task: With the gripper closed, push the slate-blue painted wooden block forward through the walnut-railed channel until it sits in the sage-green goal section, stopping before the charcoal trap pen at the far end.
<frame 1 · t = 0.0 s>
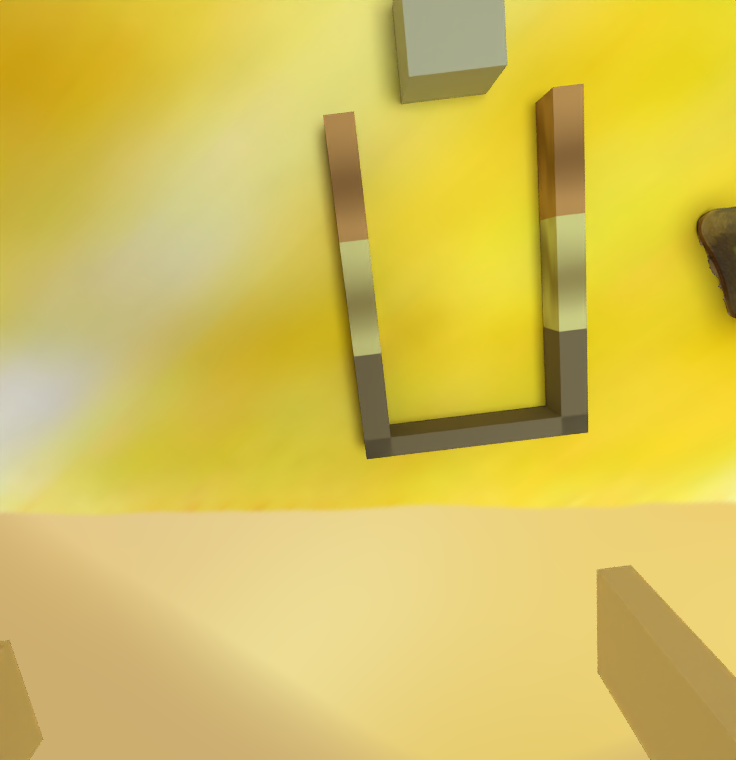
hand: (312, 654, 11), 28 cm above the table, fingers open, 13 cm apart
channel rails: (453, 231, 36), on the table
block: (439, 52, 33), on the table
olive elongated piece: (726, 265, 37), on the table
trap pen: (464, 385, 38), on the table
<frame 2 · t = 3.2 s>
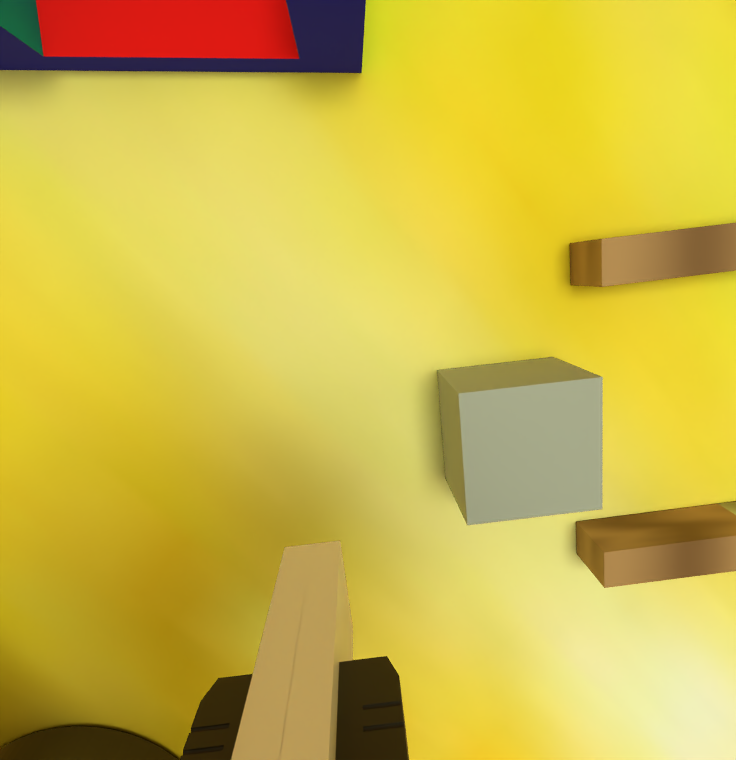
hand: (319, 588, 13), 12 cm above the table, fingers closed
channel rails: (723, 391, 25), on the table
block: (497, 418, 25), on the table
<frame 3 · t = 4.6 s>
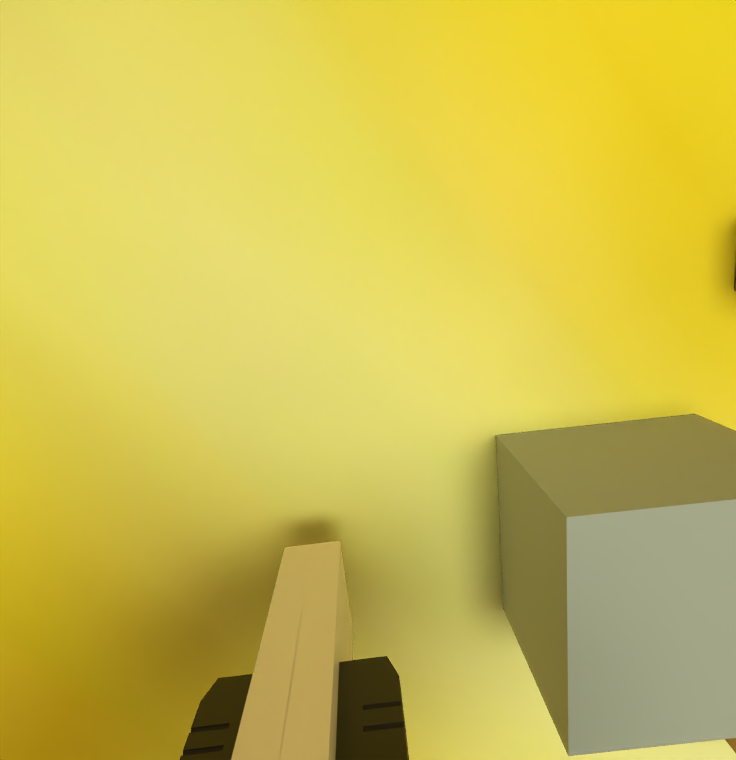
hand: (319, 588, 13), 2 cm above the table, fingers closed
block: (592, 513, 15), on the table
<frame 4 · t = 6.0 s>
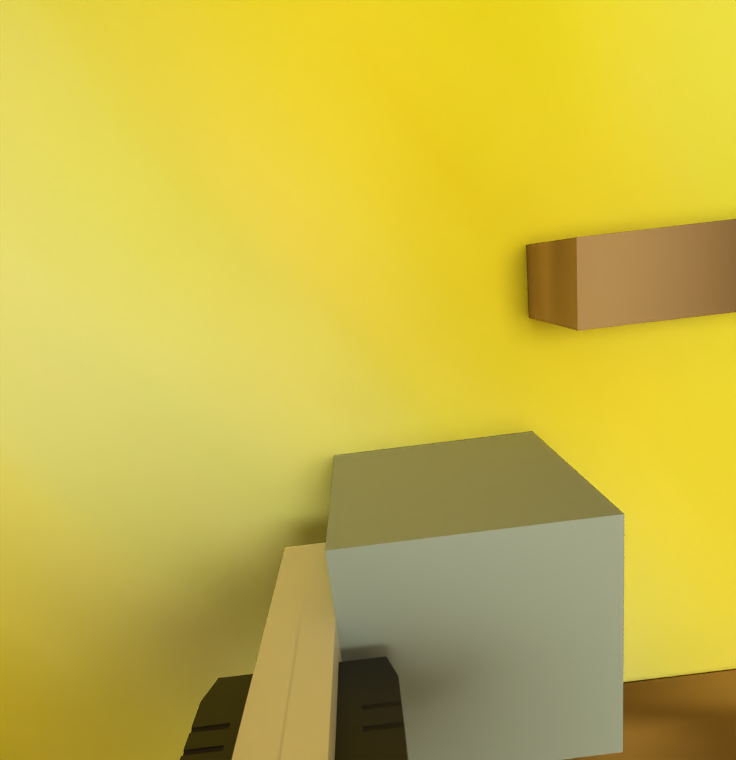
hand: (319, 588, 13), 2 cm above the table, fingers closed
block: (441, 532, 15), on the table, touching gripper
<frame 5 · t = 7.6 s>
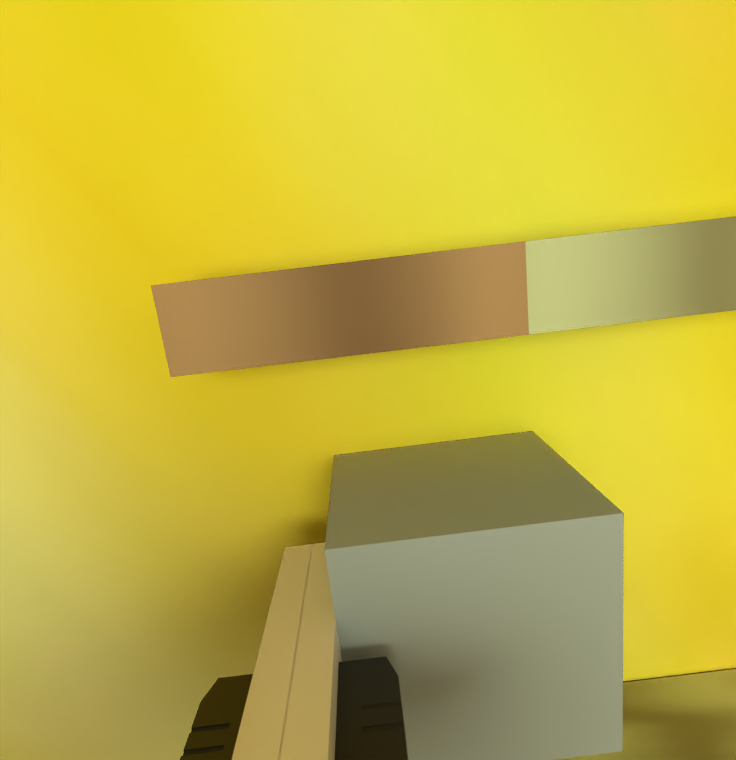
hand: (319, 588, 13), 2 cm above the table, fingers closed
channel rails: (502, 526, 15), on the table
block: (441, 531, 15), on the table, touching gripper
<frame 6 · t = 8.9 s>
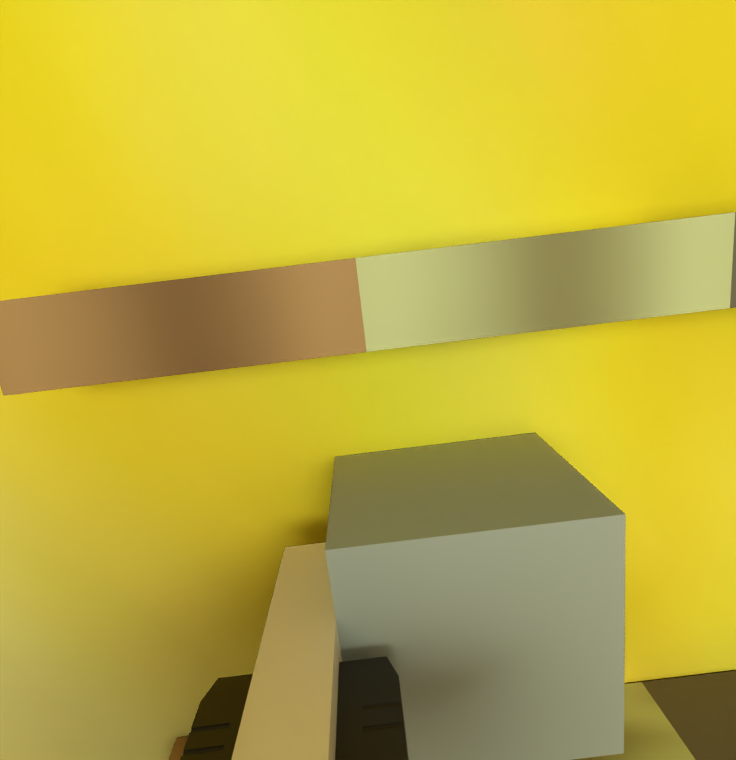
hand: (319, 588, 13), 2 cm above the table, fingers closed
channel rails: (388, 540, 15), on the table
block: (442, 532, 15), on the table, touching gripper
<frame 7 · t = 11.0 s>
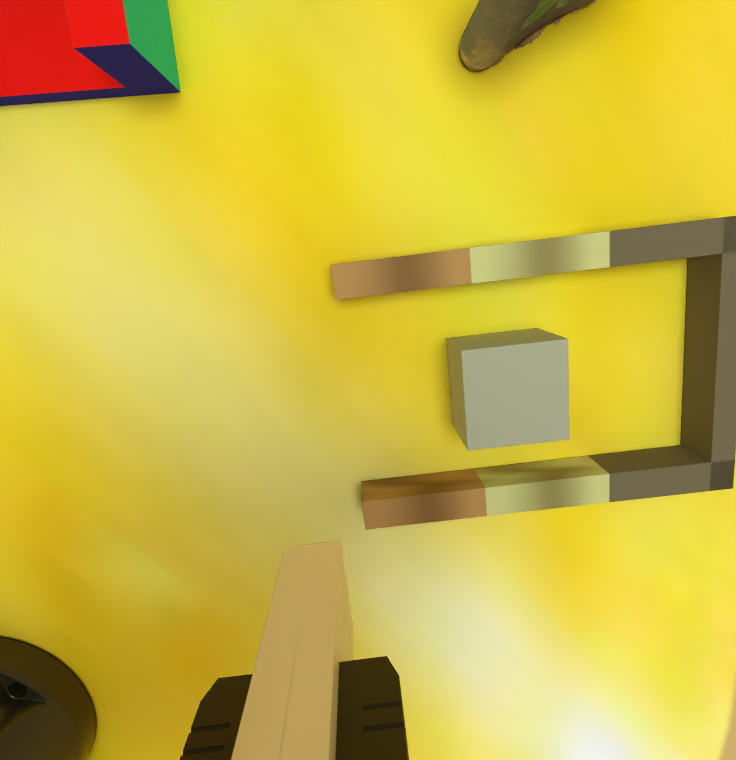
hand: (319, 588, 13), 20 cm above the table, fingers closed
channel rails: (468, 379, 32), on the table
block: (493, 376, 32), on the table
olive elongated piece: (529, 15, 27), on the table
trap pen: (646, 358, 32), on the table
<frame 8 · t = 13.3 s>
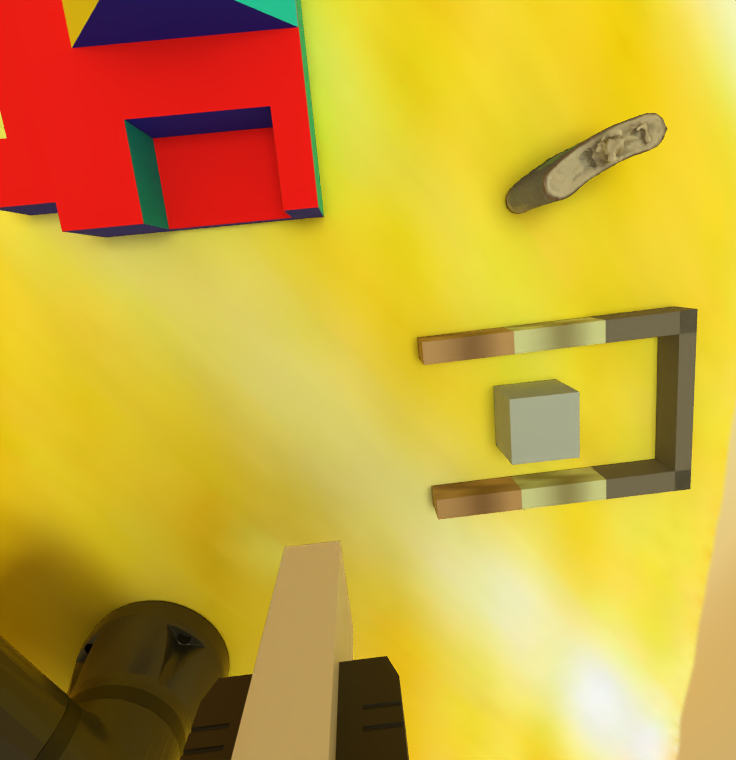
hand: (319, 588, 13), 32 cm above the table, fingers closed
building blocks toy: (162, 113, 40), on the table
channel rails: (507, 414, 46), on the table
block: (525, 412, 46), on the table
olive elongated piece: (551, 177, 42), on the table
trap pen: (631, 399, 46), on the table
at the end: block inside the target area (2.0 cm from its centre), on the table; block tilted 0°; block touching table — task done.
